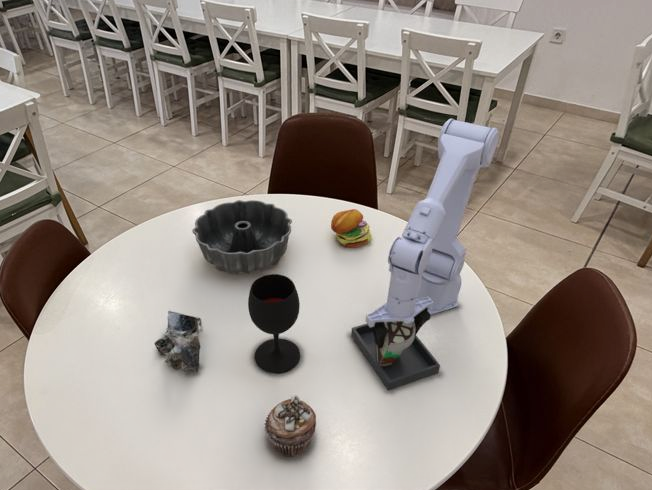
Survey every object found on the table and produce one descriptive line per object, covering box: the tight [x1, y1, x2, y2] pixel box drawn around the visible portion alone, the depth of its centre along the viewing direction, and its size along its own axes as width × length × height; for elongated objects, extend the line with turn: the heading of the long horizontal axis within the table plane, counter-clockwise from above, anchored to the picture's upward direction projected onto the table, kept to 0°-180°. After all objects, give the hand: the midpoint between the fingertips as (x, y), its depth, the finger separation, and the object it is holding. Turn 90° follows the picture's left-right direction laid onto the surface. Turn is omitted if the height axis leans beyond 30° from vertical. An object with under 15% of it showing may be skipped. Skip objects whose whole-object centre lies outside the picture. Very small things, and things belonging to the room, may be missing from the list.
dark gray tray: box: [350, 323, 441, 392], centre depth 110 cm, size 12×17×3 cm
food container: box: [376, 321, 415, 368], centre depth 106 cm, size 12×6×10 cm, turn 176°
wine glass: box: [247, 273, 301, 375], centre depth 104 cm, size 10×10×20 cm
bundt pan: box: [192, 199, 293, 276], centre depth 135 cm, size 26×26×10 cm
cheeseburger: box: [330, 208, 372, 248], centre depth 140 cm, size 10×11×10 cm
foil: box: [154, 310, 204, 374], centre depth 111 cm, size 12×11×15 cm
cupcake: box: [263, 394, 317, 458], centre depth 92 cm, size 10×10×10 cm
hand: (394, 339), depth 107 cm, fingers open, 7 cm apart
